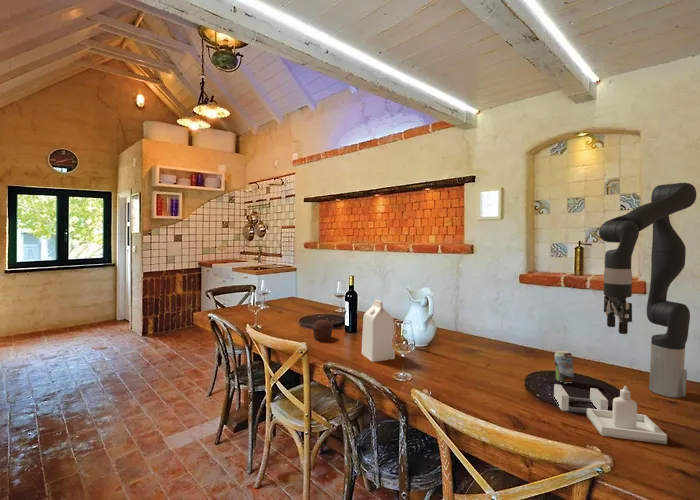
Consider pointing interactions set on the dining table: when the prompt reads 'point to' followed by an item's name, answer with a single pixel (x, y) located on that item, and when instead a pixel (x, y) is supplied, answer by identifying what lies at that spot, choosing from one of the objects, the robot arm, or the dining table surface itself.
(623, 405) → the eye dropper bottle
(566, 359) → the beverage can
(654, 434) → the tray
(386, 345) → the milk
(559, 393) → the holder
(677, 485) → the dining table surface
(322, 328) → the muffin
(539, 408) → the dining table surface
